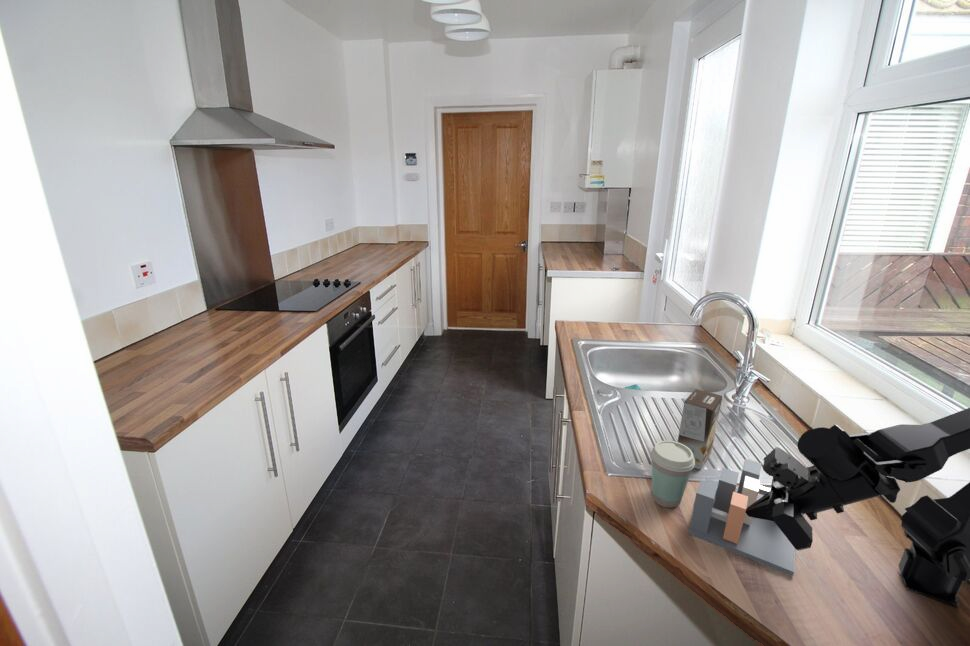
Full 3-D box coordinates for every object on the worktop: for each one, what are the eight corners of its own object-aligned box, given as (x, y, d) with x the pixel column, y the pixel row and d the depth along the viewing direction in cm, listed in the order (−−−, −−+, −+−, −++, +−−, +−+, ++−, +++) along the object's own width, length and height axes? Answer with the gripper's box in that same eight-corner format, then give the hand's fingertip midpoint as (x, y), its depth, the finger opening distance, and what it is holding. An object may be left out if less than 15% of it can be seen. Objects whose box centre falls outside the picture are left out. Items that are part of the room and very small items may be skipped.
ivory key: (752, 513, 90) (760, 480, 87) (750, 525, 87) (758, 491, 84) (713, 499, 94) (720, 467, 91) (710, 511, 91) (717, 478, 88)
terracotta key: (740, 530, 86) (748, 496, 83) (737, 544, 83) (746, 509, 80) (700, 515, 89) (707, 482, 87) (697, 528, 86) (703, 494, 84)
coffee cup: (688, 517, 91) (697, 467, 87) (644, 506, 94) (651, 458, 90) (686, 490, 98) (694, 443, 94) (645, 481, 101) (652, 435, 97)
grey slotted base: (794, 512, 92) (805, 474, 89) (792, 576, 78) (805, 534, 74) (704, 481, 101) (711, 446, 98) (688, 534, 87) (695, 494, 83)
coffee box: (701, 471, 104) (713, 410, 99) (673, 460, 108) (683, 401, 103) (712, 452, 111) (723, 395, 106) (685, 443, 115) (694, 387, 110)
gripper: (803, 419, 81) (724, 450, 90) (803, 475, 66) (709, 505, 76) (846, 471, 79) (761, 497, 89) (856, 540, 65) (753, 562, 74)
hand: (746, 512), depth 82 cm, fingers closed, pressing on terracotta key
